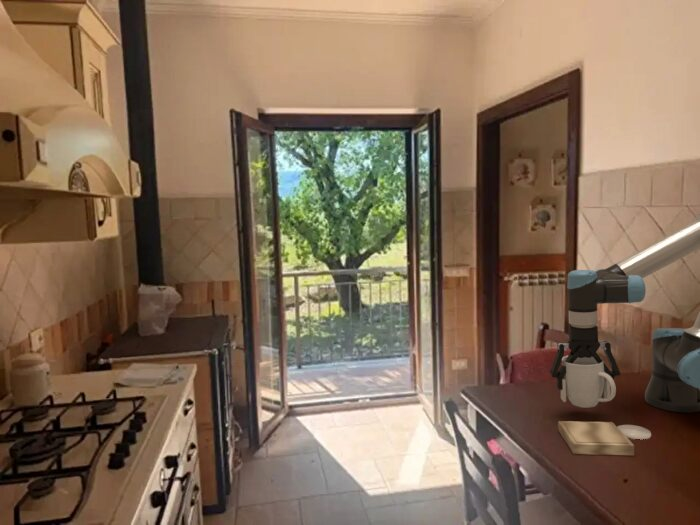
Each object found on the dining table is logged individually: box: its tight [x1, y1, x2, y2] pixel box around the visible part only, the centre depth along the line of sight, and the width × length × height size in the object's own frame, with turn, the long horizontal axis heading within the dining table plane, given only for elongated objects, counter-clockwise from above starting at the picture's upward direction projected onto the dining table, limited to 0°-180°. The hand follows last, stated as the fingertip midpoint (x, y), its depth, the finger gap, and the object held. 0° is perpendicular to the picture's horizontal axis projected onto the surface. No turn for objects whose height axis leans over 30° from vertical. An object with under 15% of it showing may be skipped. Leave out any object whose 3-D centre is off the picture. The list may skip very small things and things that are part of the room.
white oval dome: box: [617, 424, 652, 441], centre depth 137 cm, size 8×8×1 cm
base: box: [557, 420, 635, 456], centre depth 132 cm, size 14×14×3 cm
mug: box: [561, 355, 617, 409], centre depth 146 cm, size 15×11×13 cm
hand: (585, 399), depth 147 cm, fingers closed on mug, 11 cm apart
